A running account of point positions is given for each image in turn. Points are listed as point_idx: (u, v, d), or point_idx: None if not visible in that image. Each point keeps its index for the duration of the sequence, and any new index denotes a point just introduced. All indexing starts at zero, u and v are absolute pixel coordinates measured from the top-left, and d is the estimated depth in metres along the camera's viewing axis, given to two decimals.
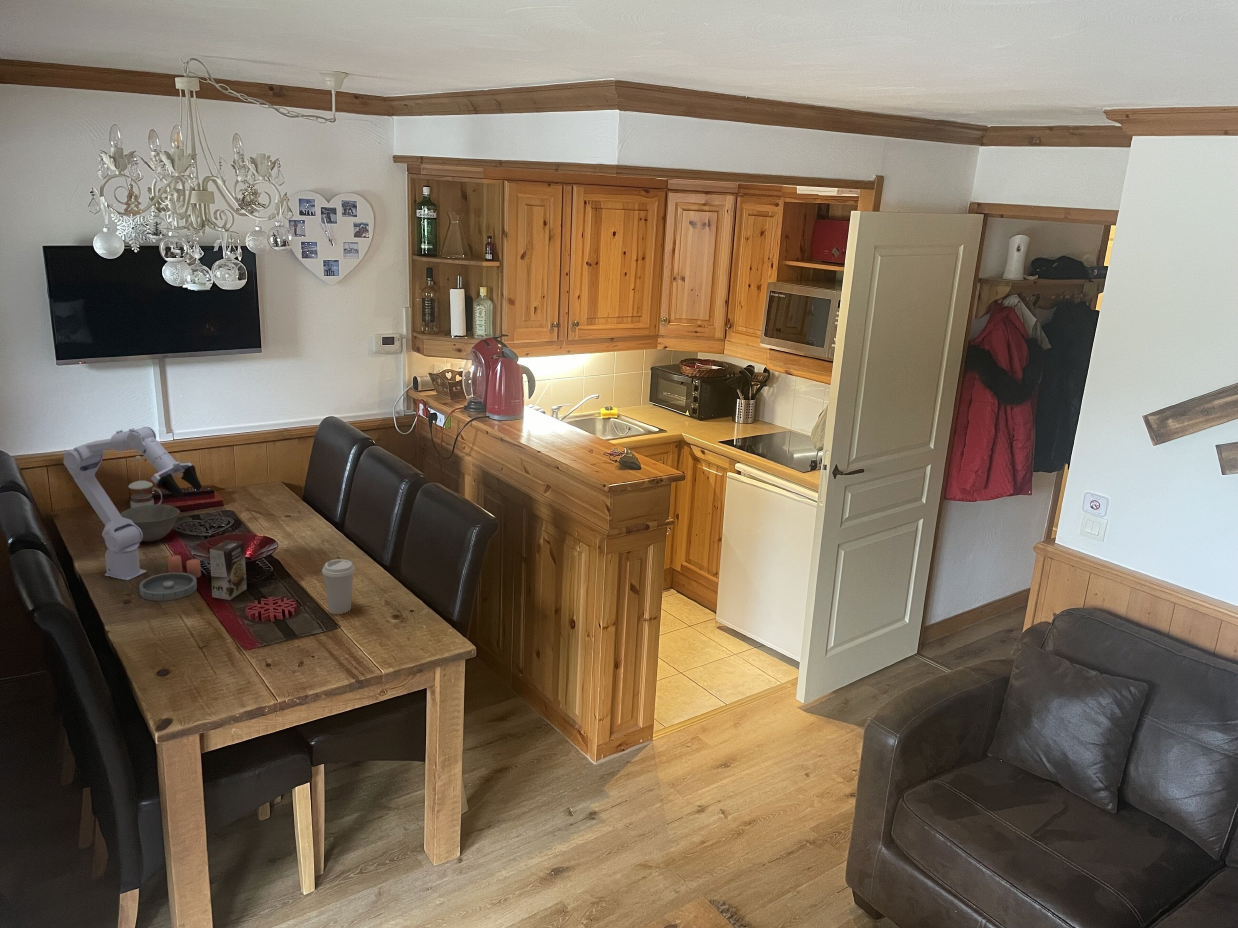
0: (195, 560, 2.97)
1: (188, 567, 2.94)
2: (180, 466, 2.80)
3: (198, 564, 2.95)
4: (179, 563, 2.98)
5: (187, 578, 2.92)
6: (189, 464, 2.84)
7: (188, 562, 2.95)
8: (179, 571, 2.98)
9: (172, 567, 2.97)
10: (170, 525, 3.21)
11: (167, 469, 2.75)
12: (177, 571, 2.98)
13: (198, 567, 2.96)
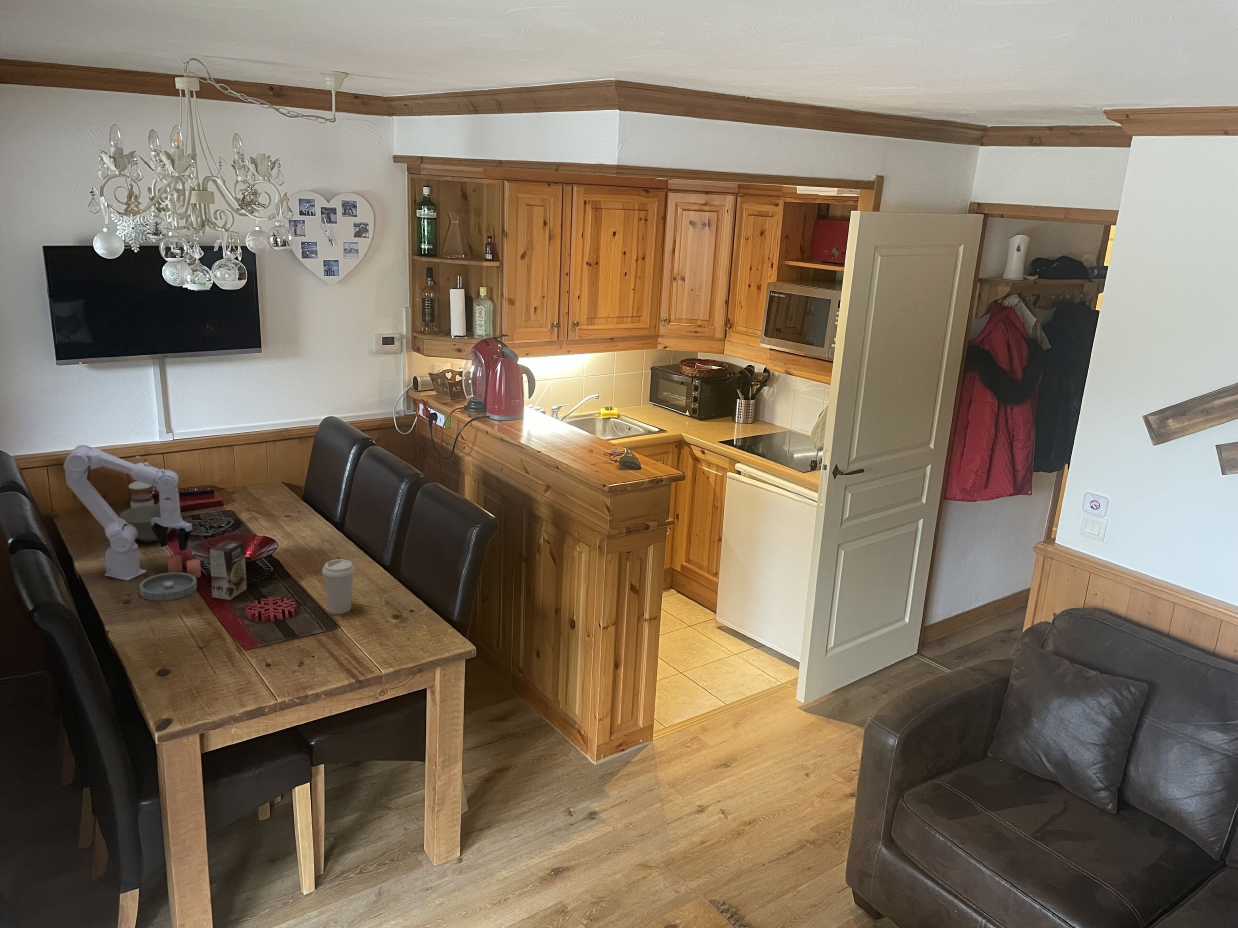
0: (195, 560, 2.97)
1: (188, 567, 2.94)
2: None
3: (198, 564, 2.95)
4: (179, 563, 2.98)
5: (187, 578, 2.92)
6: None
7: (188, 562, 2.95)
8: (179, 571, 2.98)
9: (172, 567, 2.97)
10: None
11: None
12: (177, 571, 2.98)
13: (198, 567, 2.96)
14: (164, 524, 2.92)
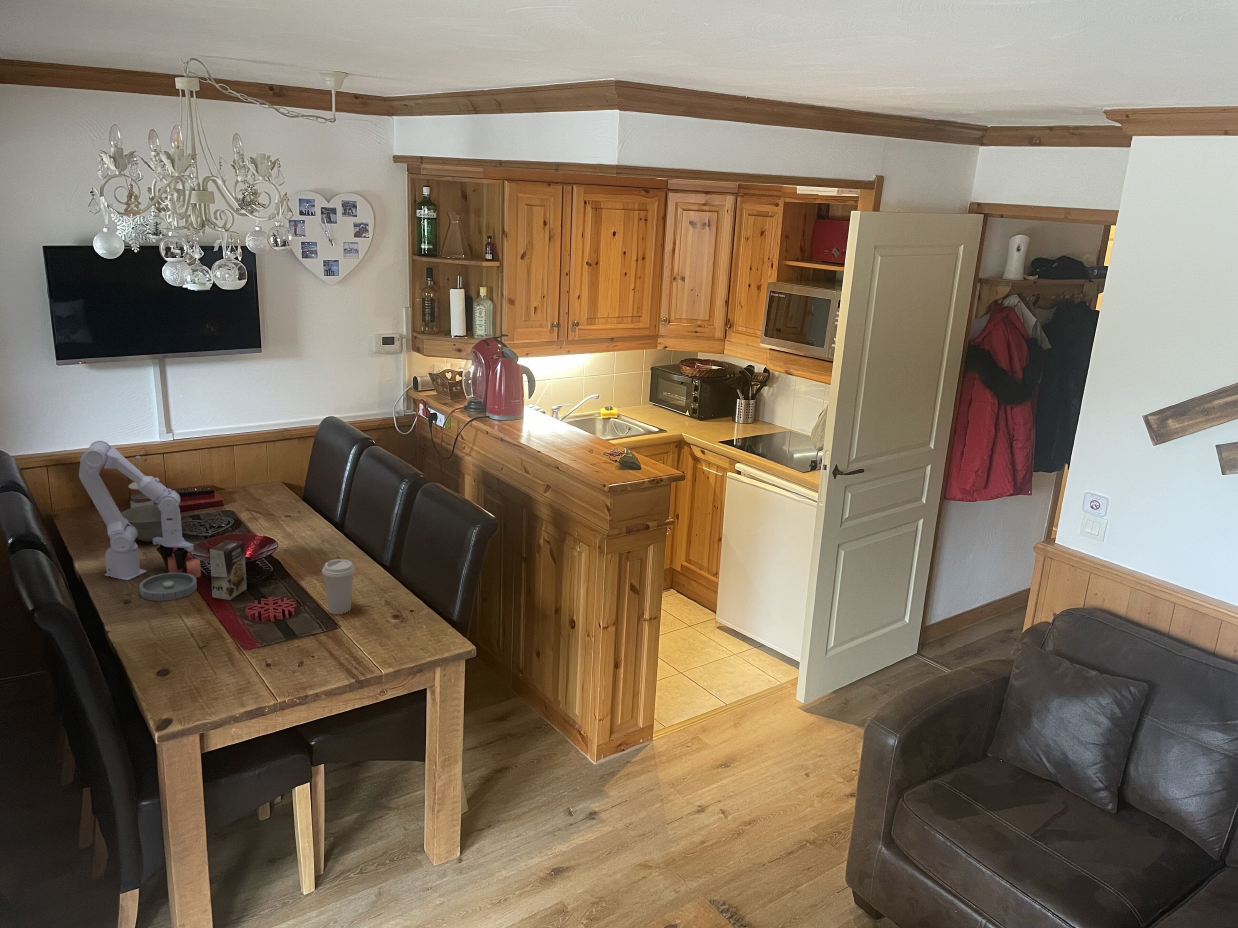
0: (195, 560, 2.97)
1: (188, 567, 2.94)
2: None
3: (198, 564, 2.95)
4: None
5: (187, 578, 2.92)
6: None
7: (188, 562, 2.95)
8: (179, 571, 2.98)
9: (173, 567, 2.97)
10: None
11: None
12: (177, 571, 2.98)
13: (198, 567, 2.96)
14: (166, 544, 2.94)
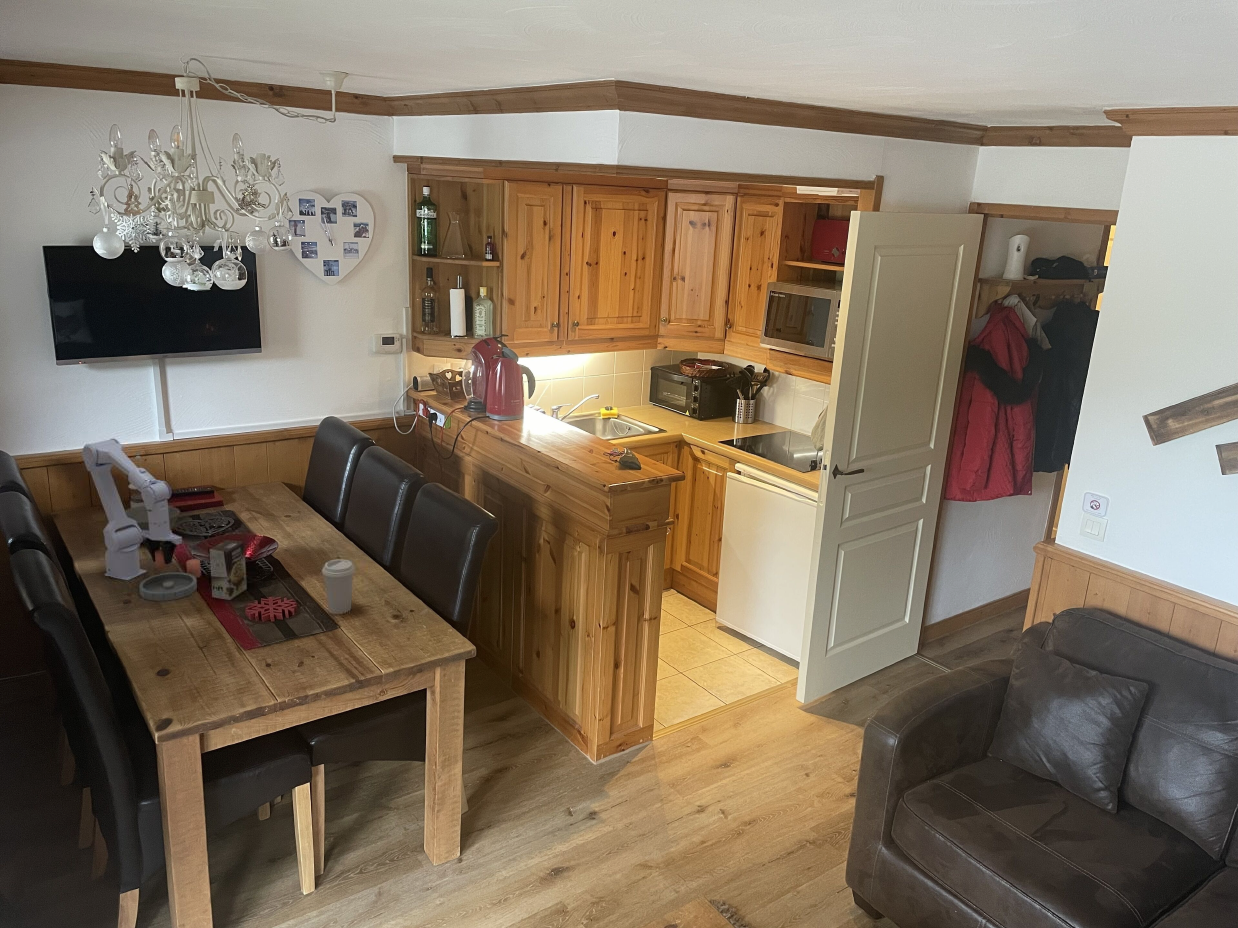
0: (195, 560, 2.97)
1: (188, 567, 2.94)
2: None
3: (198, 564, 2.95)
4: None
5: (187, 578, 2.92)
6: None
7: (188, 562, 2.95)
8: (167, 566, 2.85)
9: (160, 561, 2.83)
10: (170, 525, 3.21)
11: None
12: (165, 565, 2.84)
13: (198, 567, 2.96)
14: (153, 537, 2.80)
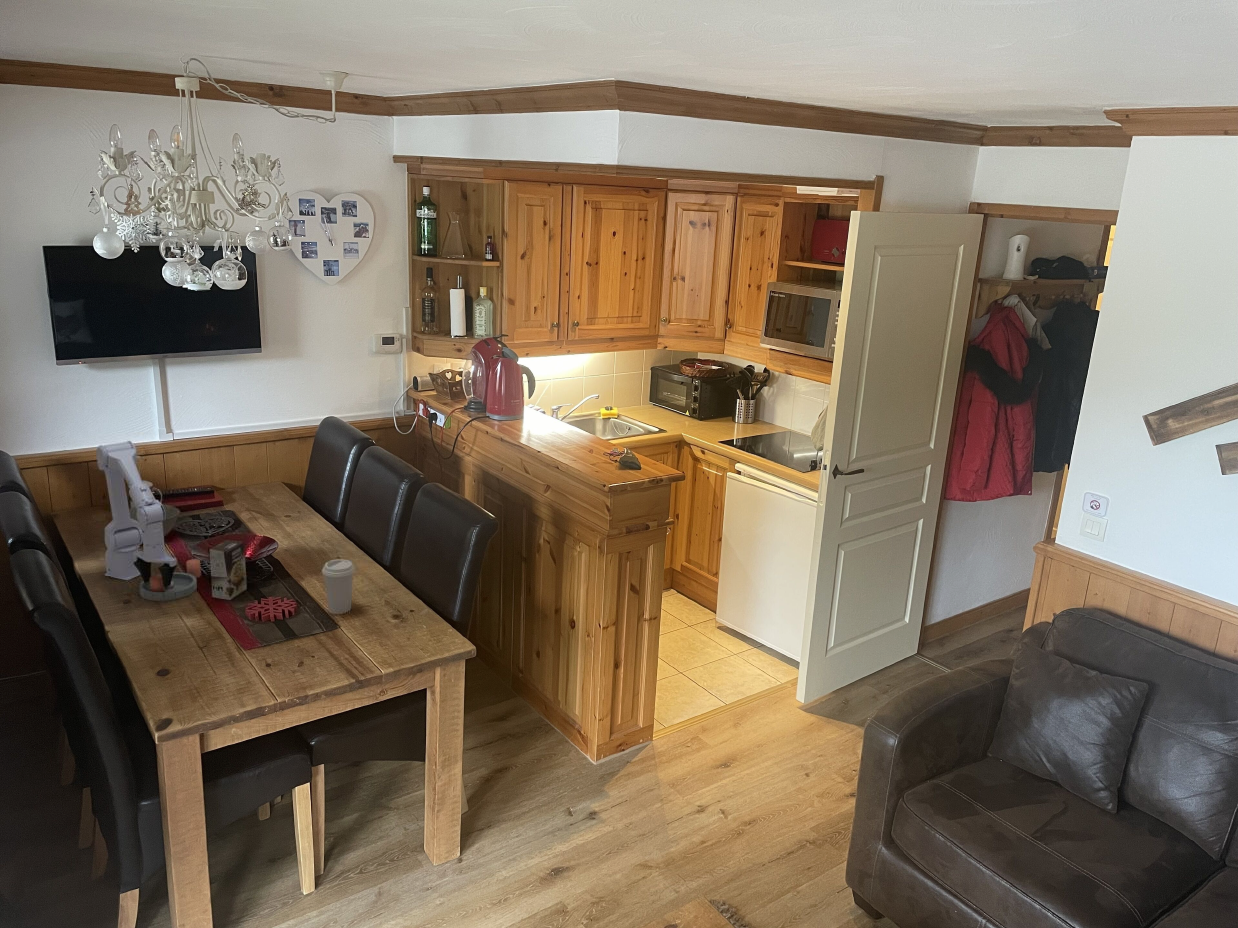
0: (195, 560, 2.97)
1: (188, 567, 2.94)
2: None
3: (198, 564, 2.95)
4: (162, 583, 2.80)
5: (187, 578, 2.92)
6: None
7: (188, 562, 2.95)
8: None
9: (155, 587, 2.79)
10: (170, 525, 3.21)
11: None
12: (160, 591, 2.80)
13: (198, 567, 2.96)
14: (147, 559, 2.76)
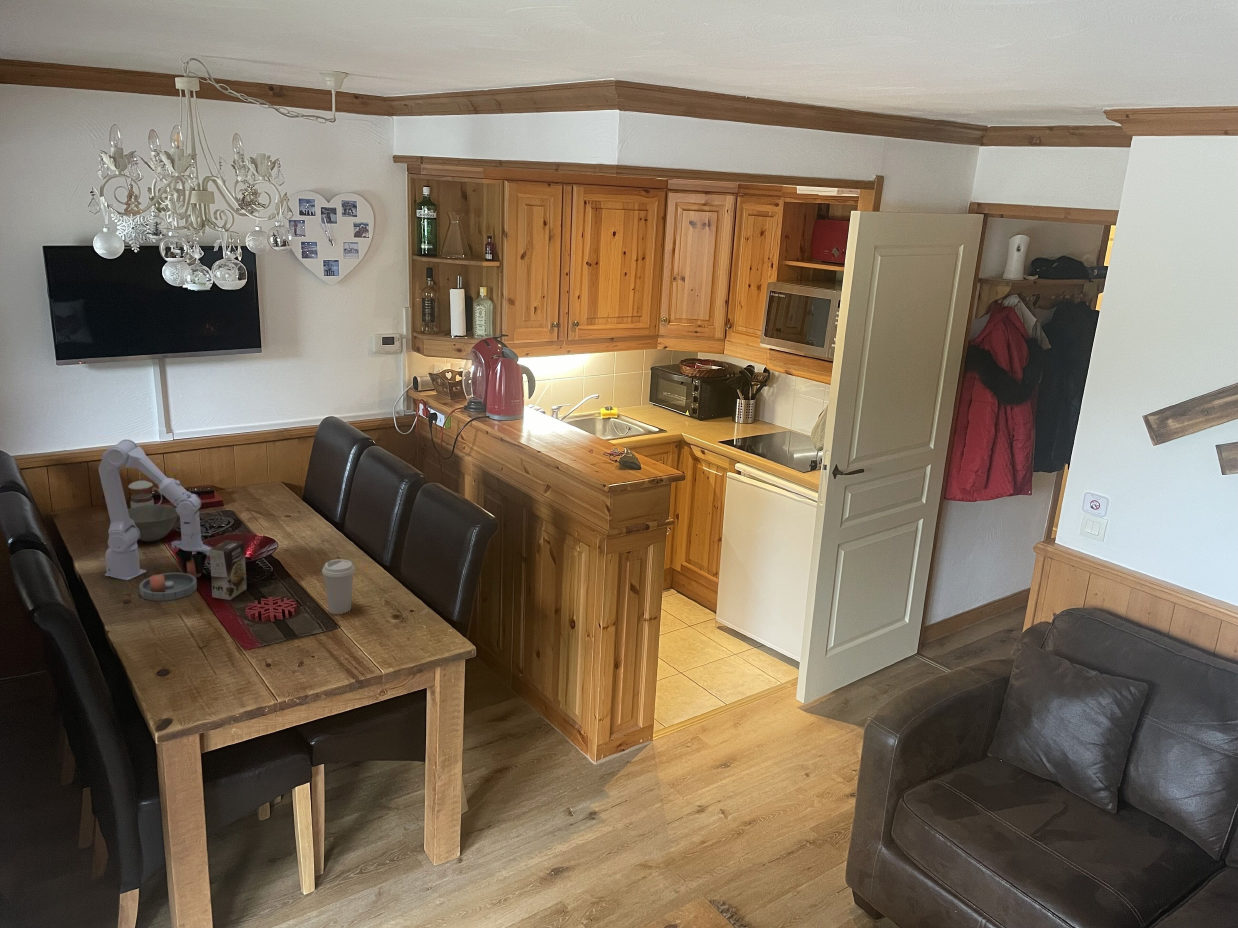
0: None
1: (188, 567, 2.94)
2: None
3: None
4: (162, 583, 2.80)
5: (187, 578, 2.92)
6: None
7: (188, 562, 2.95)
8: None
9: (155, 587, 2.79)
10: (170, 525, 3.21)
11: None
12: (160, 591, 2.80)
13: None
14: (185, 548, 2.91)
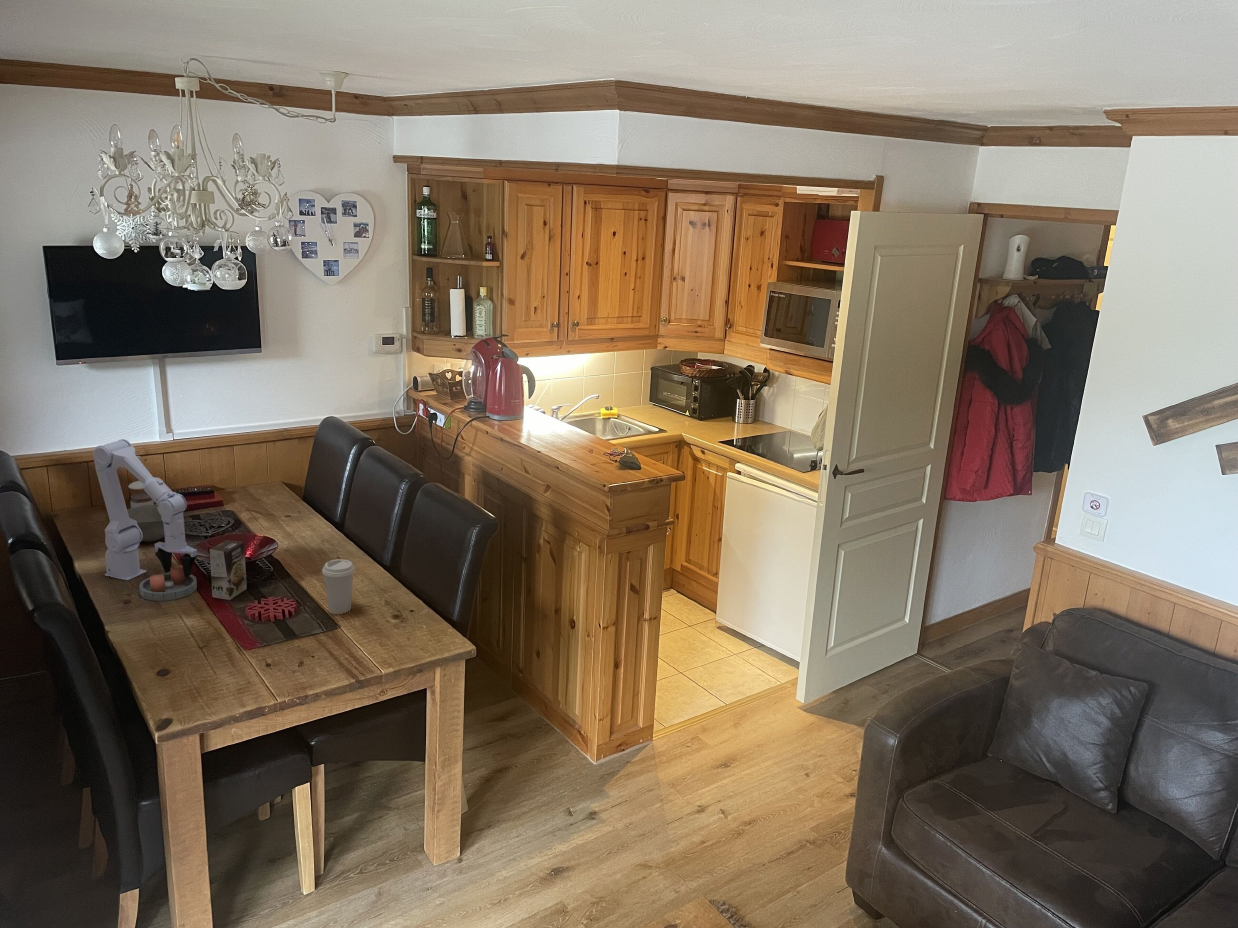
0: (179, 566, 2.89)
1: (172, 573, 2.87)
2: None
3: (182, 570, 2.88)
4: (162, 583, 2.80)
5: (187, 578, 2.92)
6: None
7: (172, 568, 2.87)
8: None
9: (155, 587, 2.79)
10: None
11: None
12: (160, 591, 2.80)
13: (183, 574, 2.88)
14: (168, 549, 2.83)
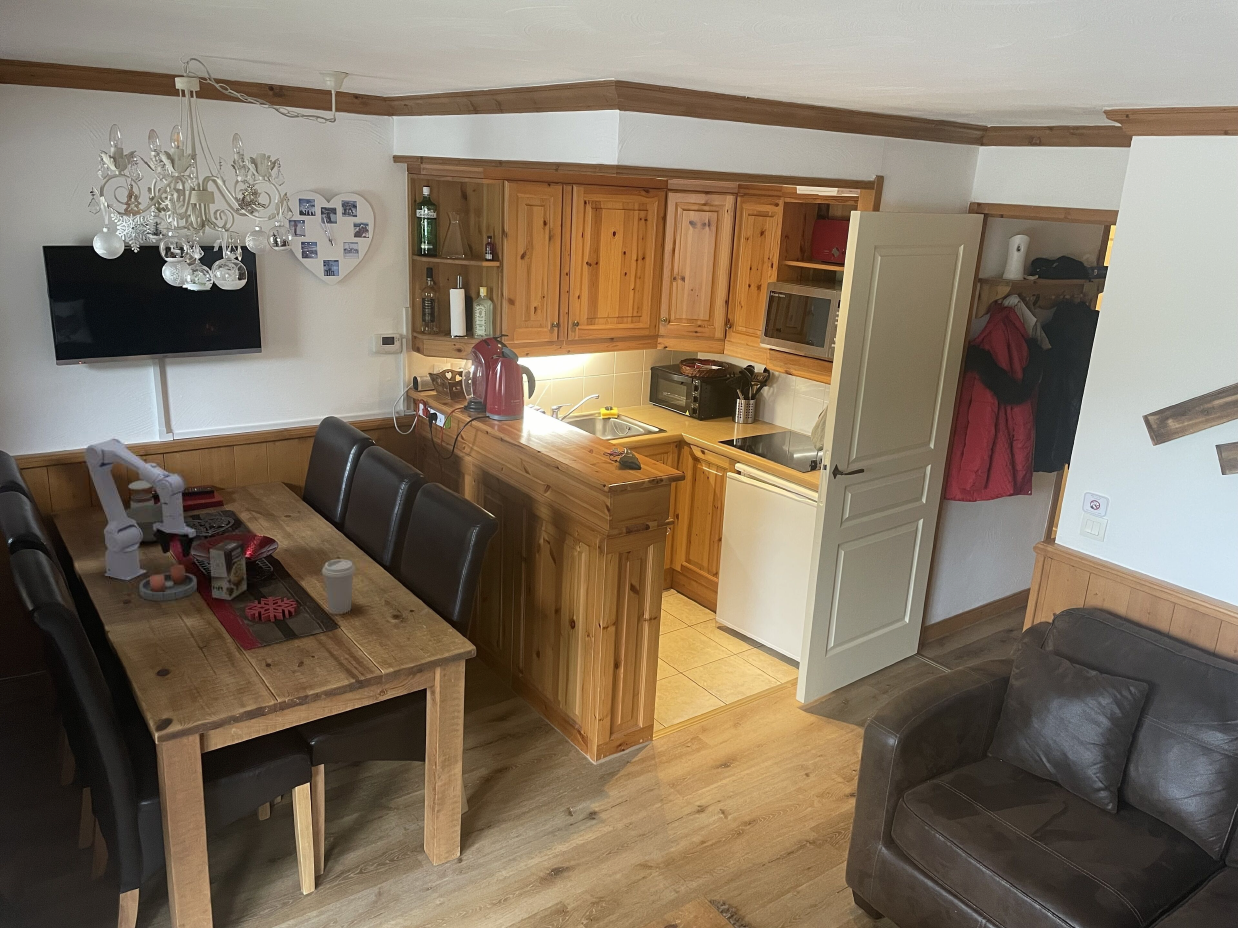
0: (179, 566, 2.89)
1: (172, 573, 2.87)
2: None
3: (182, 570, 2.88)
4: (162, 583, 2.80)
5: (187, 578, 2.92)
6: None
7: (172, 568, 2.87)
8: None
9: (155, 587, 2.79)
10: None
11: None
12: (160, 591, 2.80)
13: (183, 574, 2.88)
14: (167, 530, 2.82)
